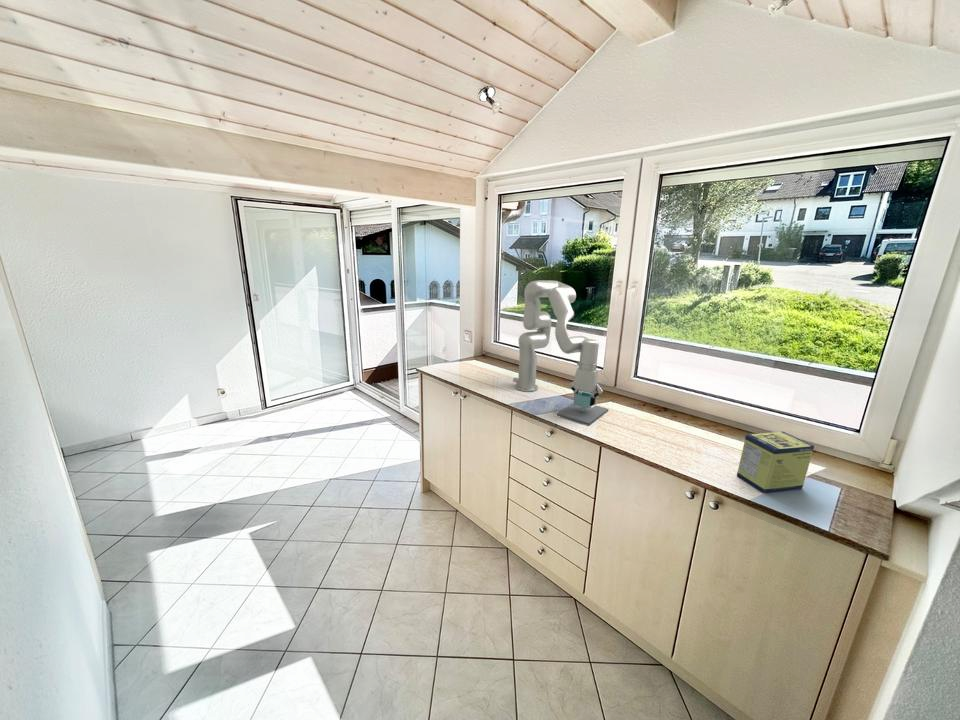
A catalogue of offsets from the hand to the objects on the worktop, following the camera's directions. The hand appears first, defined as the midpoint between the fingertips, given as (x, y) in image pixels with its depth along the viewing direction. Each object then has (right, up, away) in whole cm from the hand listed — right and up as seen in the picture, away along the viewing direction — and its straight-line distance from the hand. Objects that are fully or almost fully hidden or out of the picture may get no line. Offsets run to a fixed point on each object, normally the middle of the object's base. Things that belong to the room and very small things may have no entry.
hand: (584, 402), depth 175 cm
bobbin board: (0, -5, +2) cm, 5 cm away
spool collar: (0, -1, 0) cm, 1 cm away
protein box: (+47, -21, -51) cm, 72 cm away
